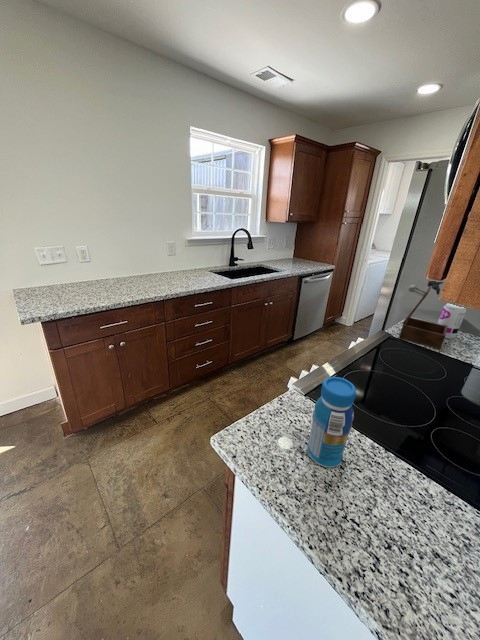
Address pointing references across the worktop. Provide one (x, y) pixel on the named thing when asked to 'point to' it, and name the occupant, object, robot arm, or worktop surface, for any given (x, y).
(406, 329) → the storage bin
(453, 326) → the supplement can
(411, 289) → the bin lid
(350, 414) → the beverage bottle
